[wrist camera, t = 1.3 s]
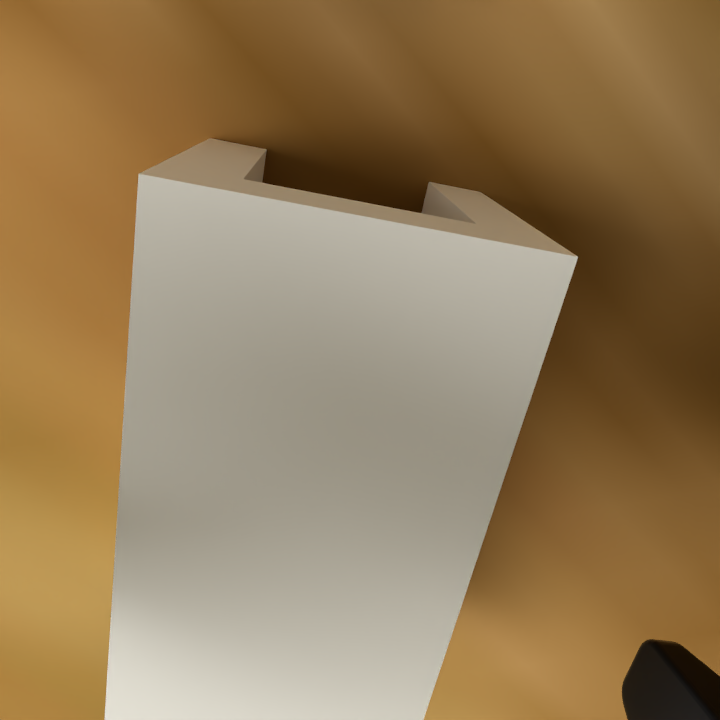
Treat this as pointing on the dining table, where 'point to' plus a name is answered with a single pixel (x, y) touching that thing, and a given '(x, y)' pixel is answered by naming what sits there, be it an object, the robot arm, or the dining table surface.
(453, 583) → the block
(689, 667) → the robot arm
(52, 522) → the dining table surface
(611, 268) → the dining table surface
